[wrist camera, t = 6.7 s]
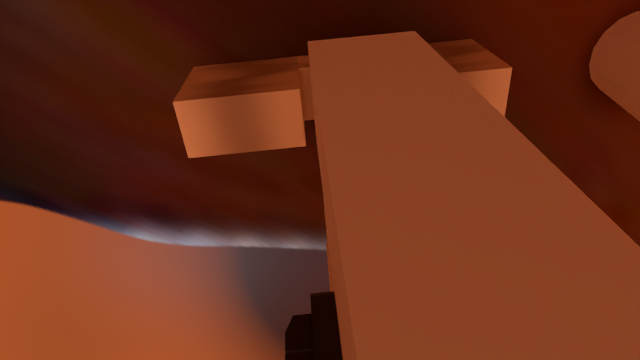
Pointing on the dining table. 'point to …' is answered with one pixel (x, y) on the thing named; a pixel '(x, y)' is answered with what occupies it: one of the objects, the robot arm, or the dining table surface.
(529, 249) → the plain rectangular block
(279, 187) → the dining table surface
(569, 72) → the dining table surface
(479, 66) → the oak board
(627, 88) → the shot glass
